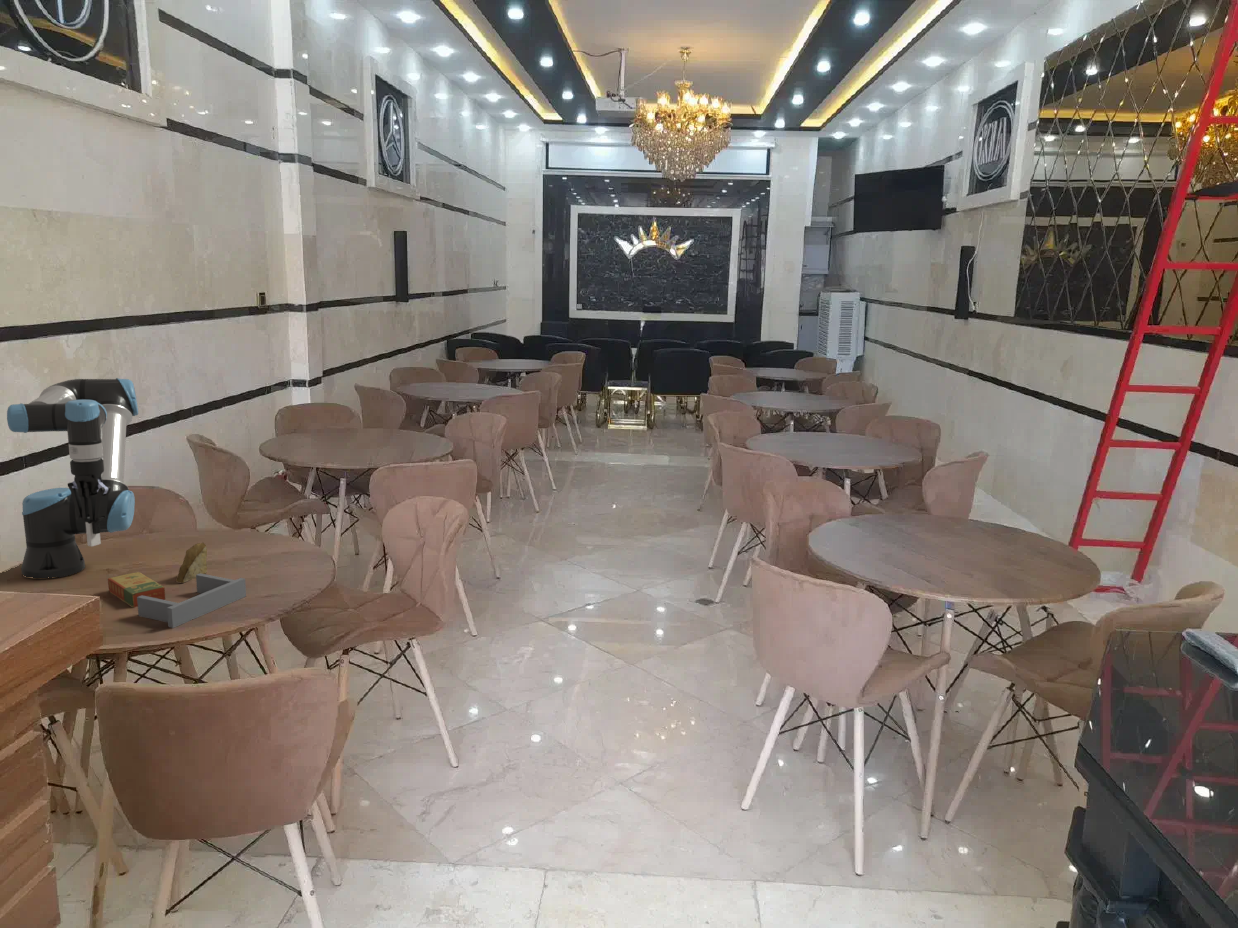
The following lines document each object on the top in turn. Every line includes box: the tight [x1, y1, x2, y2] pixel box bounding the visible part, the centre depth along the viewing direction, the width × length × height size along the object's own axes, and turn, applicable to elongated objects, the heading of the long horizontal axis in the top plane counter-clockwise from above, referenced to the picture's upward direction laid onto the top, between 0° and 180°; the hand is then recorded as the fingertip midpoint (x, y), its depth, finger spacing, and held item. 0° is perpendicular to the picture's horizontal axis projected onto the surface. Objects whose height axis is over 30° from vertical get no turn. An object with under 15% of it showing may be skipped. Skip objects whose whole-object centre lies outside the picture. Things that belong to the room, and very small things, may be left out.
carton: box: [107, 571, 166, 608], centre depth 230 cm, size 8×16×4 cm, turn 50°
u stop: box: [137, 573, 247, 629], centre depth 223 cm, size 14×24×5 cm, turn 160°
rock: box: [175, 542, 208, 584], centre depth 244 cm, size 11×9×10 cm
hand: (94, 544), depth 232 cm, fingers closed
